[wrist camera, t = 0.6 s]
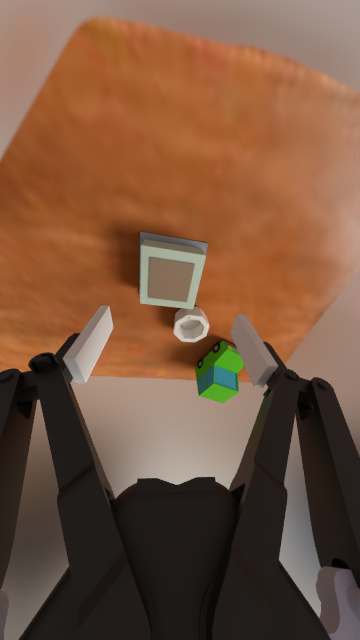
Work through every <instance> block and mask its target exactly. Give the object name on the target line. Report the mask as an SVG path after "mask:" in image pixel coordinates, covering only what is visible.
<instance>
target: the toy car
mask: <svg viewBox="0 0 360 640" xmlns="http://www.w3.org/2000/svg"><path fill="white" fill-rule="evenodd" d="M243 366H244V363H243V361H242V359H241V356H240V354H239V352H238V350H237V347H236V346H235V345H233V344H231V343H229V342H226V341H224V340H223V341H222V342H221V343H216V344H215V345H214V346H213V350H212V351H211V352H210V353H209V354H208V355H207V356H206V357H205V358H204V359H200V360H199V361H198V364H197V366H196V367H195V371H196V378H197V385H198V393H199V396H201V397H205V398H208V399H211V400H215V401H218V402H222V403H224V402H225V401H227V400H228V399H230V398H231V397H233V396H234V395H235V394H237V393H238V392H239V389H238V388H239V387H238V372H239V371H240V370H241V369H242V367H243ZM239 376H240V375H239Z"/></svg>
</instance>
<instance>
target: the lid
mask: <svg viewBox="0 0 360 640" xmlns="http://www.w3.org/2000/svg"><path fill="white" fill-rule="evenodd" d="M205 258H206V255H205V253H204V252H203V250H202V248H196V247H190V246H184V245H178V244H171V243H165V242H159V241H153V240H147V239H145V241H144V242H143V243H142V244H141V279H140V303H142V304H150V305H159V306H168V307H176V308H185V309H193V308H194V304H195V299H196V295H197V291H198V287H199V283H200V279H201V275H202V271H203V266H204V262H205Z"/></svg>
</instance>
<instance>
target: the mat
mask: <svg viewBox="0 0 360 640" xmlns="http://www.w3.org/2000/svg"><path fill="white" fill-rule="evenodd" d="M145 239H147V240H153V241H159V242H165V243H171V244H178V245H184V246H190V247H196V248H202V250H203V252H204V253H205V255H206V251H207V246H208V243H205V242H199V241H193V240H187V239H181V238H175V237H169V236H163V235H157V234H152V233H146V232H140V273H139V295H140V279H141V244H142V243H143V242H144V241H145Z"/></svg>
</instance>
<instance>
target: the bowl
mask: <svg viewBox="0 0 360 640" xmlns="http://www.w3.org/2000/svg"><path fill="white" fill-rule="evenodd" d="M208 329H209V322H208V319H207V316H206V315H205V314H204V312H203V311H202V309H200V308H199V307H196V306H194V308H193V309H185V308H181V309H179V310H178V311H177V312H176V313H175V317H174V334H175V335H176V336H177V337H178V338H179V339H180V340H181V341H185V342H196V341H198V340H200V339H202V338H204V337H206V335H207V332H208Z"/></svg>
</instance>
